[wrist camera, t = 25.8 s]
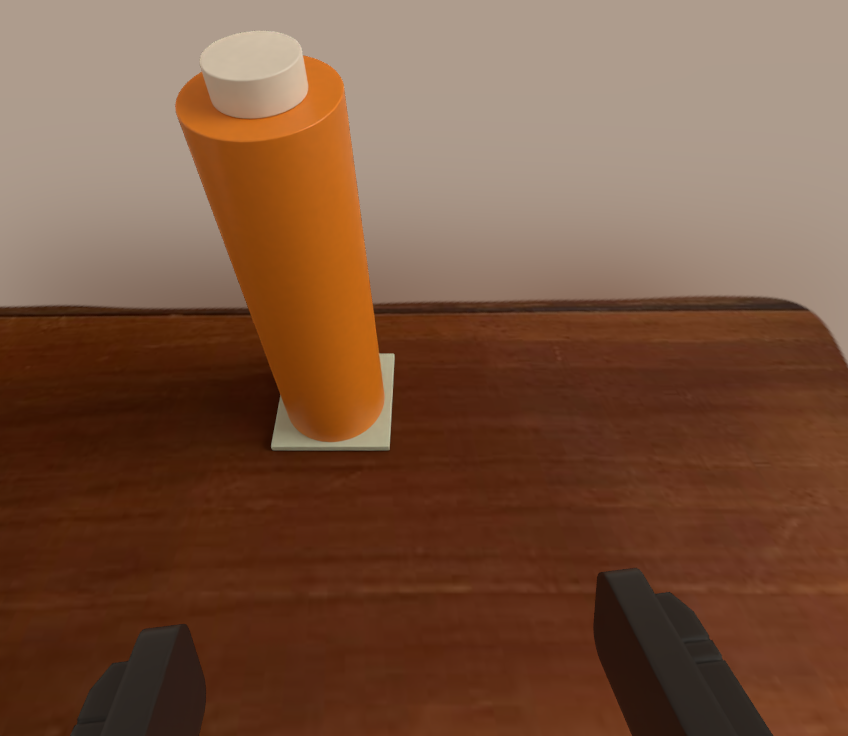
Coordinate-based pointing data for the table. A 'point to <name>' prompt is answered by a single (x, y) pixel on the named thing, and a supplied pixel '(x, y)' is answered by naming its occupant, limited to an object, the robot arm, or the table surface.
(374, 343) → the juice bottle
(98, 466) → the table surface
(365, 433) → the coaster
